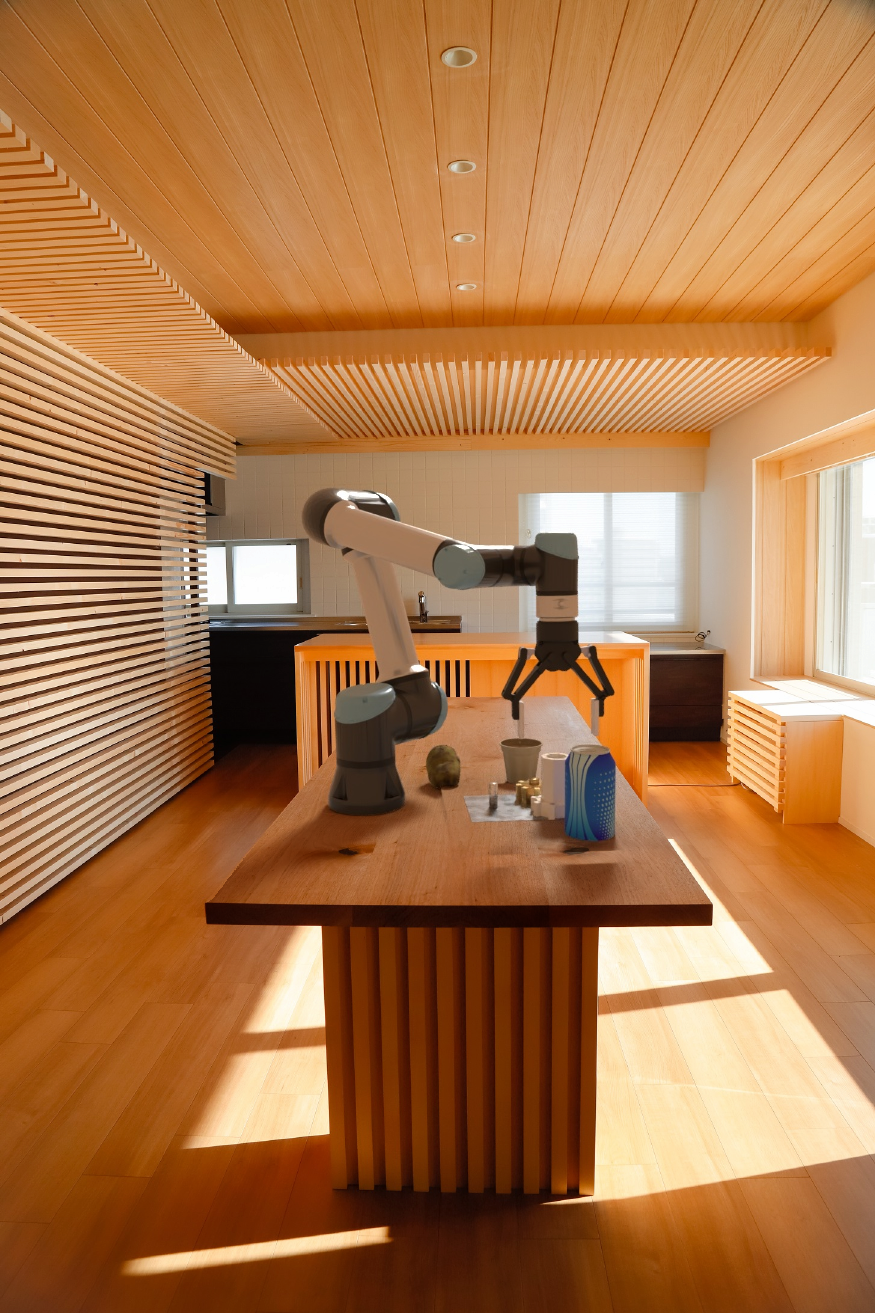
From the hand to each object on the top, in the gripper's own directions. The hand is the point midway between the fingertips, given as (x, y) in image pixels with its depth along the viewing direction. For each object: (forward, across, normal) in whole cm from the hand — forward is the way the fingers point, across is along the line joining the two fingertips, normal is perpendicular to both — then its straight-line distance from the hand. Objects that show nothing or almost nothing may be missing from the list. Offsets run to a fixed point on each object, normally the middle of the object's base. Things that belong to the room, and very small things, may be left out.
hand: (558, 736), depth 146 cm
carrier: (+16, -5, +4) cm, 17 cm away
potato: (+16, -19, +26) cm, 36 cm away
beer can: (+16, +3, -11) cm, 20 cm away
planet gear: (+14, 0, 0) cm, 14 cm away
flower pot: (+16, -2, +27) cm, 31 cm away
